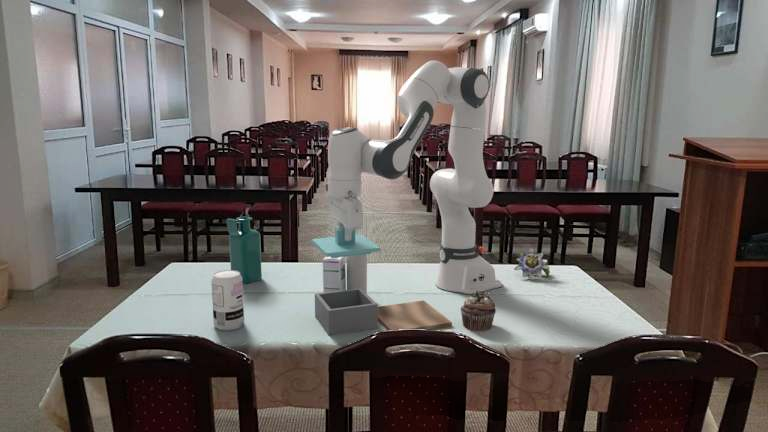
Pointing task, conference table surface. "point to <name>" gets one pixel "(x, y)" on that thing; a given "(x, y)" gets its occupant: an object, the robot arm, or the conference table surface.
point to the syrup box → (334, 274)
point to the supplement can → (227, 300)
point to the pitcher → (244, 249)
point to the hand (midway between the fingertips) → (345, 238)
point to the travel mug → (357, 272)
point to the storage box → (345, 311)
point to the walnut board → (411, 316)
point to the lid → (345, 245)
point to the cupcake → (478, 312)
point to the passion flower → (532, 264)
